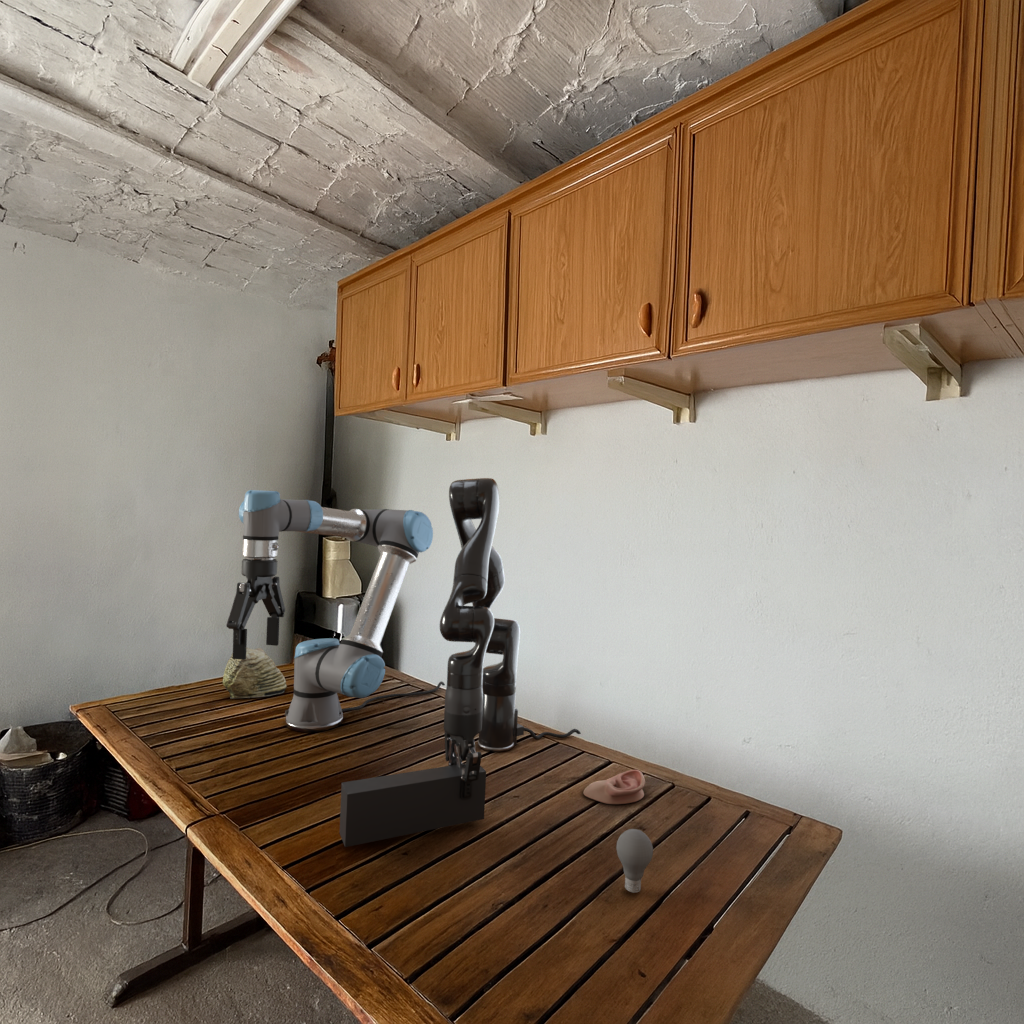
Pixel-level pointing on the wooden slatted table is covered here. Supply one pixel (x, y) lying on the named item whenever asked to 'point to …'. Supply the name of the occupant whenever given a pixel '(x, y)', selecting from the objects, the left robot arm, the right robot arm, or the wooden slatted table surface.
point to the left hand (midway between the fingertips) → (256, 651)
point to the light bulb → (634, 857)
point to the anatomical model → (618, 788)
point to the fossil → (253, 676)
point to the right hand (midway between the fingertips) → (460, 792)
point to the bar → (407, 804)
